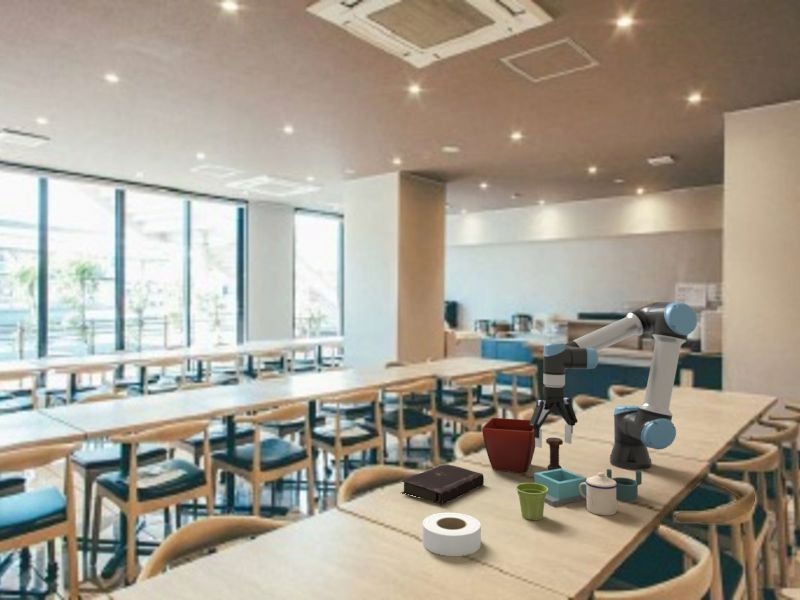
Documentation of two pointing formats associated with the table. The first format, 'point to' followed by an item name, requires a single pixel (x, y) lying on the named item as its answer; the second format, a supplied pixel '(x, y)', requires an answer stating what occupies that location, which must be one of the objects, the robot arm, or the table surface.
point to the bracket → (626, 486)
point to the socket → (561, 486)
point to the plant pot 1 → (509, 444)
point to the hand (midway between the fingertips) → (553, 444)
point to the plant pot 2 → (532, 500)
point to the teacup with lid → (600, 494)
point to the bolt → (554, 453)
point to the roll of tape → (451, 534)
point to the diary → (442, 483)
